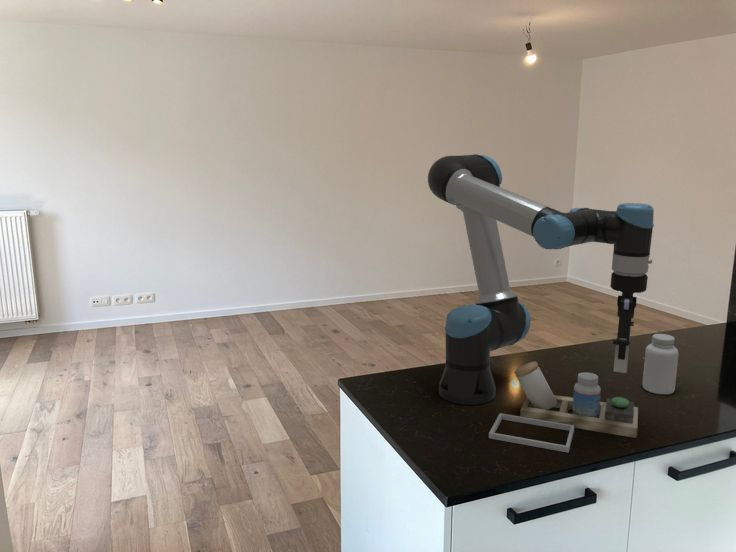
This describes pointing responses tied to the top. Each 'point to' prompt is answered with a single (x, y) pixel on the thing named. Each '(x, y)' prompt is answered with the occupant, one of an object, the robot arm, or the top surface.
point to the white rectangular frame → (529, 441)
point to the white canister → (535, 386)
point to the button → (620, 402)
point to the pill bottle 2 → (660, 365)
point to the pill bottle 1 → (587, 395)
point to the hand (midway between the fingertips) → (621, 361)
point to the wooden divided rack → (607, 422)
